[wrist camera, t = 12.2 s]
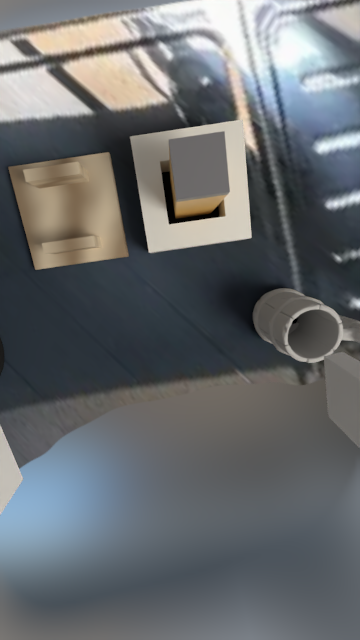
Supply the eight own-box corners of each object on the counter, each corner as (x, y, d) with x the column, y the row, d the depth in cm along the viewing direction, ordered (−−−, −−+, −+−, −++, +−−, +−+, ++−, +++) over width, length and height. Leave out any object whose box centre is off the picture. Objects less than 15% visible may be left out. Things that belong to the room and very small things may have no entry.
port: (151, 253, 35) (148, 252, 31) (135, 150, 32) (129, 136, 28) (242, 239, 35) (251, 237, 31) (234, 136, 32) (242, 119, 28)
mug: (253, 285, 36) (291, 299, 25) (338, 289, 37) (415, 305, 25) (247, 339, 38) (279, 376, 26) (328, 342, 39) (395, 380, 27)
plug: (175, 218, 34) (176, 199, 22) (170, 180, 33) (168, 139, 21) (210, 213, 34) (229, 191, 22) (206, 175, 33) (224, 131, 21)
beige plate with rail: (38, 269, 35) (22, 271, 31) (12, 169, 32) (-9, 157, 29) (128, 256, 35) (123, 256, 31) (110, 154, 32) (102, 141, 28)
